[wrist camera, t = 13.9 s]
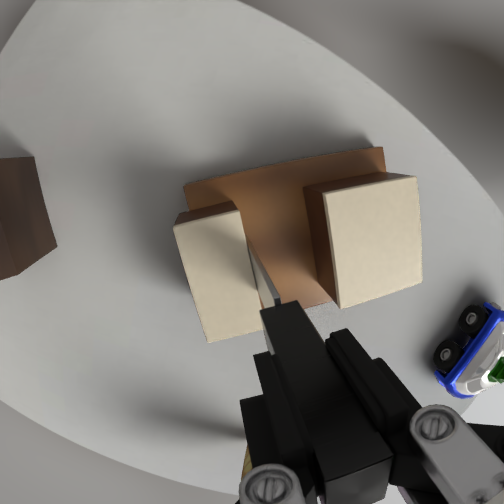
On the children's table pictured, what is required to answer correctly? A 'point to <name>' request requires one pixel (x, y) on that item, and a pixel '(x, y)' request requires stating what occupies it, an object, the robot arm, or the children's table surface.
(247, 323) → the cake slice
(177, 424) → the children's table surface
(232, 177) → the cutting board
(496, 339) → the toy car
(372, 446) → the knife
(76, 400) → the children's table surface
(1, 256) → the knife block
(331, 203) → the cake
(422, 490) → the robot arm
